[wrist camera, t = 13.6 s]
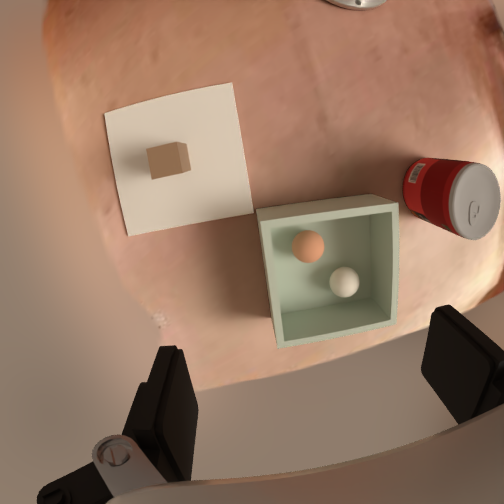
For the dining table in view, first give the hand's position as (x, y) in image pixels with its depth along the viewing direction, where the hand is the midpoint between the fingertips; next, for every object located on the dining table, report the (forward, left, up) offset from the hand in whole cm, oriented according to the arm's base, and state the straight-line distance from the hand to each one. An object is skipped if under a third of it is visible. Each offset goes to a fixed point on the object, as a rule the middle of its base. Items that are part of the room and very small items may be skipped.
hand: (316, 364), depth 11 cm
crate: (+6, +7, -27) cm, 28 cm away
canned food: (-1, +22, -27) cm, 35 cm away
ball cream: (+8, +9, -24) cm, 27 cm away
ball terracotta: (+3, +5, -24) cm, 25 cm away
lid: (-8, -8, -27) cm, 30 cm away
